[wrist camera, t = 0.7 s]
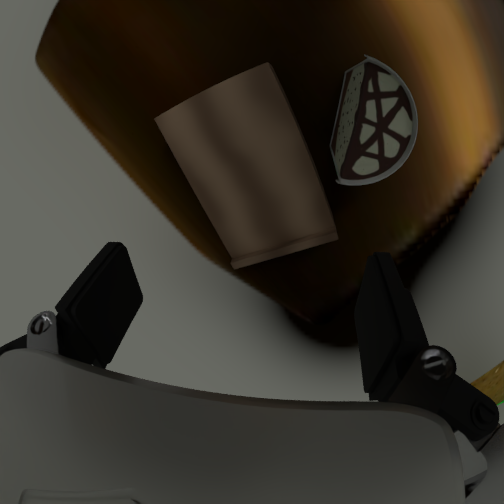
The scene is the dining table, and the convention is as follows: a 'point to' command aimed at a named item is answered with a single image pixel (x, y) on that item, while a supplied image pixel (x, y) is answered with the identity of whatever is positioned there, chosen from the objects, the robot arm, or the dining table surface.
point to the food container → (372, 124)
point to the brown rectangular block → (250, 167)
